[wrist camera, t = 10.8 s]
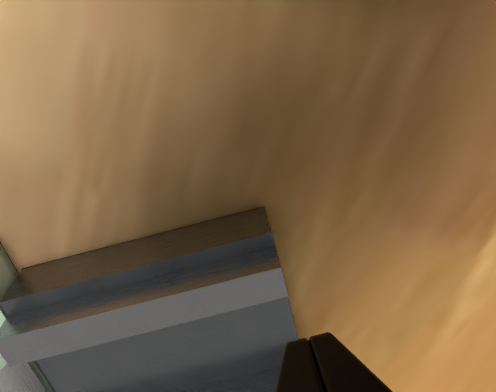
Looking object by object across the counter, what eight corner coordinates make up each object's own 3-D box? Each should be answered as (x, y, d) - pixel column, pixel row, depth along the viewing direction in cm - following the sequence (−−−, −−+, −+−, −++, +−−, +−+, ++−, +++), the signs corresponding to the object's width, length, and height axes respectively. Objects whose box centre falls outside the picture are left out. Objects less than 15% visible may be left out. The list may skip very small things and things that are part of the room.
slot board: (264, 206, 20) (277, 251, 16) (301, 355, 24) (318, 417, 21) (22, 268, 20) (-18, 327, 17) (101, 405, 24) (83, 476, 21)
